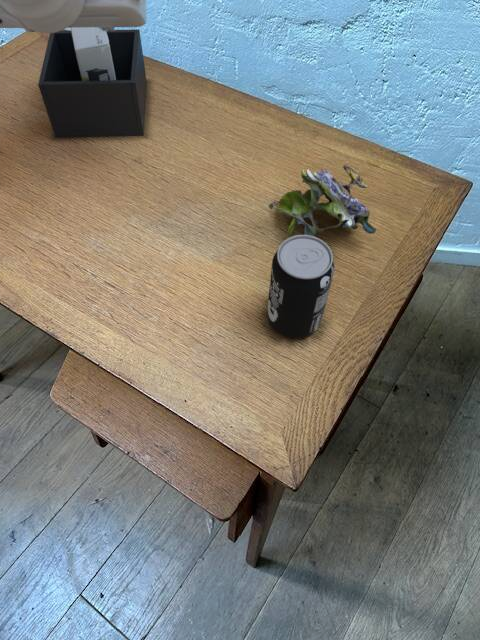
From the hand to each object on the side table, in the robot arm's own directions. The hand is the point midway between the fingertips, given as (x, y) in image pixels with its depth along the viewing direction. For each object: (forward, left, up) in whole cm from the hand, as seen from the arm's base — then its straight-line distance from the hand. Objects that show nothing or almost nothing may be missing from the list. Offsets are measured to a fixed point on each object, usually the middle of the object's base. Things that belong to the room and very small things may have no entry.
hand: (71, 24), depth 70 cm
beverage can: (+26, -35, -17) cm, 47 cm away
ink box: (+1, +6, -16) cm, 17 cm away
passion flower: (+31, -21, -17) cm, 41 cm away
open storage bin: (0, +6, -17) cm, 18 cm away
